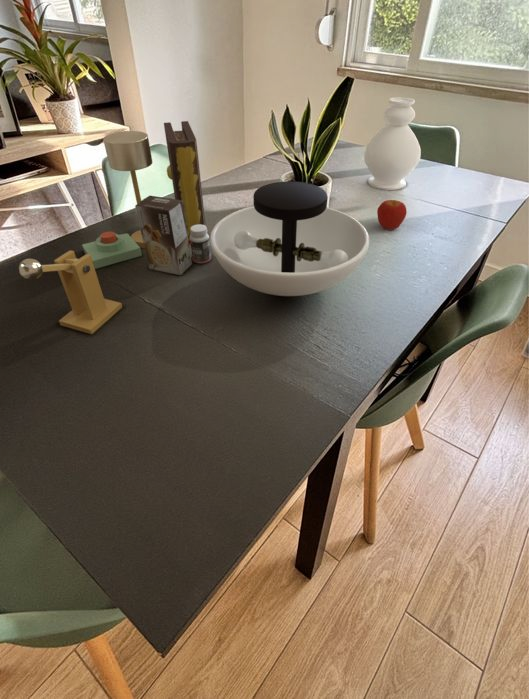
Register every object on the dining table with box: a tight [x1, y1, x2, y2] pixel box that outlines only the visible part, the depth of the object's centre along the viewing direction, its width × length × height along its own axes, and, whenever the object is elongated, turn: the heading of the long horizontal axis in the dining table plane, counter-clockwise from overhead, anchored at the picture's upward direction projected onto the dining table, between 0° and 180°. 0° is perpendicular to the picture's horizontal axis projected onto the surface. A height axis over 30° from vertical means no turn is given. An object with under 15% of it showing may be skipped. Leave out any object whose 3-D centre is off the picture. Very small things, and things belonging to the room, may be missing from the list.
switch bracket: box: [53, 250, 123, 335], centre depth 85 cm, size 10×8×14 cm
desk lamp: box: [102, 130, 153, 249], centre depth 106 cm, size 10×10×26 cm
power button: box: [99, 231, 117, 244], centre depth 107 cm, size 4×4×2 cm
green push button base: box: [81, 232, 143, 270], centre depth 108 cm, size 12×10×4 cm
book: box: [163, 120, 206, 245], centre depth 114 cm, size 22×8×25 cm, turn 14°
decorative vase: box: [363, 96, 422, 191], centre depth 137 cm, size 18×18×25 cm
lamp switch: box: [18, 257, 79, 281], centre depth 77 cm, size 13×4×4 cm, turn 157°
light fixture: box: [209, 181, 370, 297], centre depth 91 cm, size 33×33×21 cm
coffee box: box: [134, 195, 193, 276], centre depth 99 cm, size 9×6×16 cm
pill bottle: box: [189, 224, 212, 264], centre depth 105 cm, size 5×5×8 cm
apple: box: [376, 199, 407, 231], centre depth 117 cm, size 8×8×8 cm
